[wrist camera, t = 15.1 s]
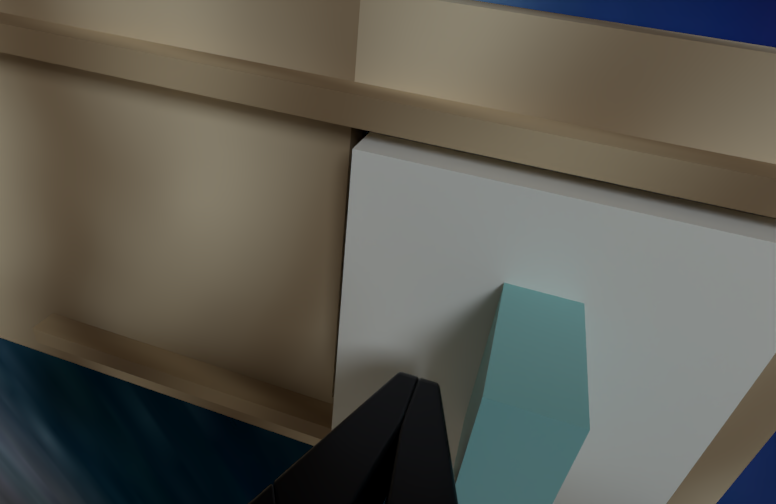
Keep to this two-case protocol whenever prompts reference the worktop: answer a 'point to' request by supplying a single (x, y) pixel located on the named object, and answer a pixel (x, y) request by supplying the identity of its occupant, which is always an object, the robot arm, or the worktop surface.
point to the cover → (551, 320)
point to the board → (320, 172)
